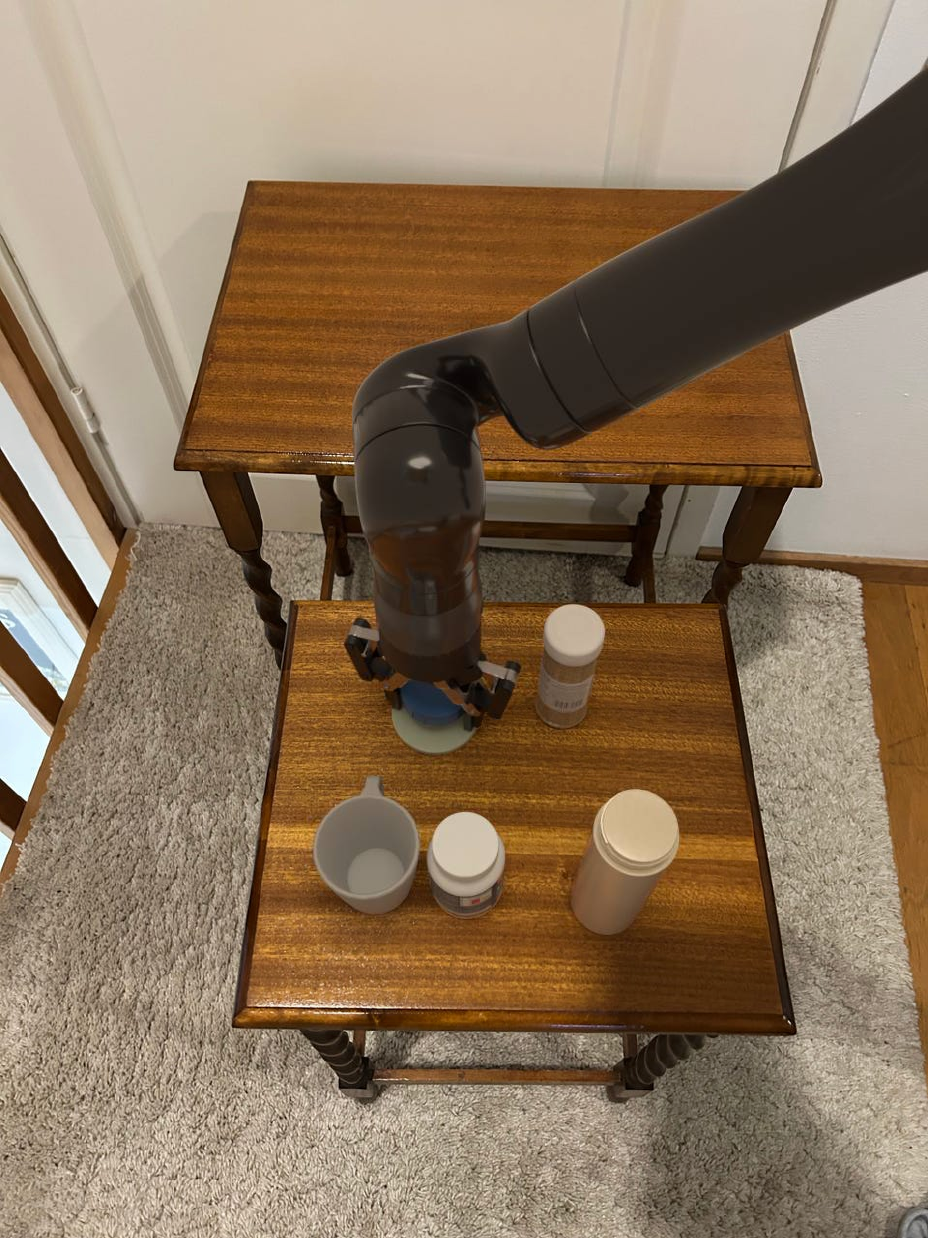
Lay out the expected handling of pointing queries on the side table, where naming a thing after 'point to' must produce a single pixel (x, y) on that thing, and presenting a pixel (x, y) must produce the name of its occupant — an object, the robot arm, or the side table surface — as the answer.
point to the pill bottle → (466, 865)
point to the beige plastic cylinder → (623, 860)
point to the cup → (368, 850)
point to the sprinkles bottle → (568, 664)
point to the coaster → (430, 734)
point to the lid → (429, 704)
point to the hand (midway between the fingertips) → (435, 710)
